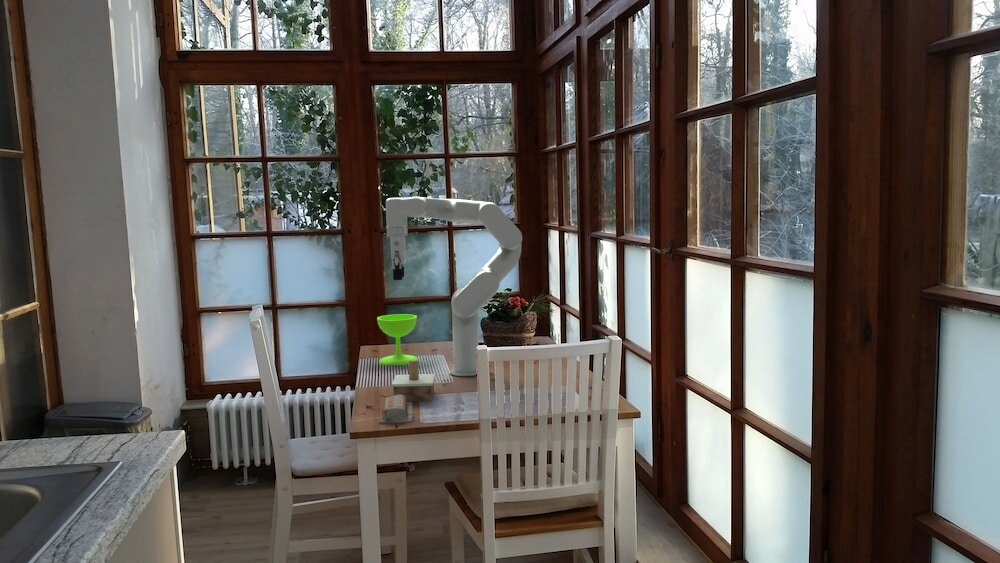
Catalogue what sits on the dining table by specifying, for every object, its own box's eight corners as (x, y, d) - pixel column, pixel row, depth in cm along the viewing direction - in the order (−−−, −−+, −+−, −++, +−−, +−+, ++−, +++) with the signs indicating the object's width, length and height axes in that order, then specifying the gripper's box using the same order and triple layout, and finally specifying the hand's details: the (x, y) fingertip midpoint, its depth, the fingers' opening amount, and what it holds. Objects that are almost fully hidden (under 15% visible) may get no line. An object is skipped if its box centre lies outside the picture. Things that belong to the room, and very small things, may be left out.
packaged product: (412, 407, 226) (378, 409, 225) (413, 423, 227) (379, 425, 225) (411, 392, 244) (380, 393, 243) (412, 407, 244) (380, 408, 243)
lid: (435, 376, 258) (434, 356, 257) (432, 385, 245) (431, 364, 244) (396, 377, 257) (395, 357, 257) (391, 386, 244) (390, 365, 244)
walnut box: (434, 394, 258) (433, 376, 257) (431, 403, 246) (431, 385, 245) (398, 395, 258) (397, 377, 257) (394, 404, 246) (393, 386, 245)
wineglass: (424, 357, 317) (422, 314, 315) (409, 366, 301) (407, 320, 299) (388, 356, 321) (386, 313, 319) (372, 364, 306) (370, 320, 304)
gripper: (405, 232, 272) (407, 280, 274) (409, 230, 289) (410, 275, 291) (384, 233, 271) (386, 281, 273) (389, 231, 289) (390, 276, 290)
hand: (399, 278), depth 282 cm, fingers open, 9 cm apart
